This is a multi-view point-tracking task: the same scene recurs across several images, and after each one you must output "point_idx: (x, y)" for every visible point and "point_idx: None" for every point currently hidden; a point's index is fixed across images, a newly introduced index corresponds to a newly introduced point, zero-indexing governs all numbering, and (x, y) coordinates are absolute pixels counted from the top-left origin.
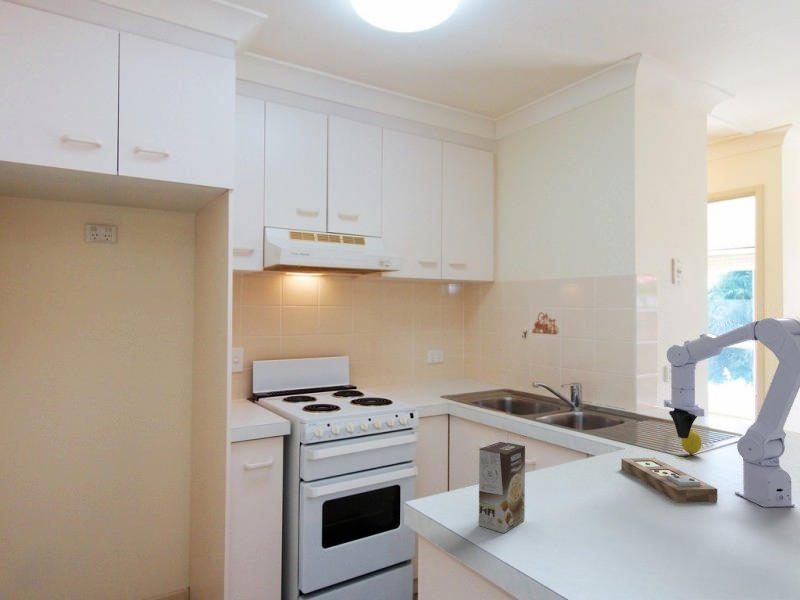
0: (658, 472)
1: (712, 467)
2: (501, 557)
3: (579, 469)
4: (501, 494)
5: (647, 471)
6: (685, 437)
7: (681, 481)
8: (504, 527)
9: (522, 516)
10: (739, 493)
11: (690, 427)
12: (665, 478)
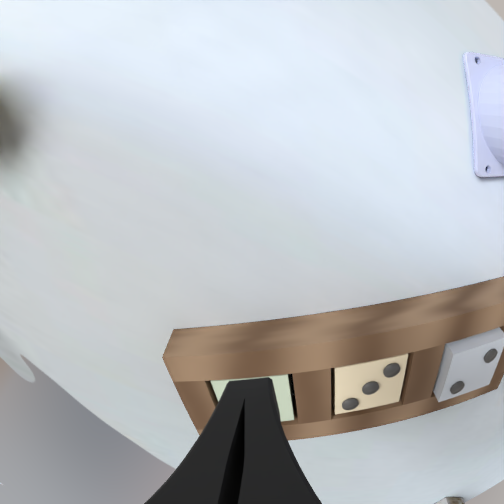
0: (360, 401)
1: (105, 67)
2: (492, 486)
3: None
4: None
5: (354, 425)
6: (276, 398)
7: (486, 382)
8: (463, 501)
9: (450, 501)
10: (496, 174)
11: (292, 454)
12: (426, 399)
